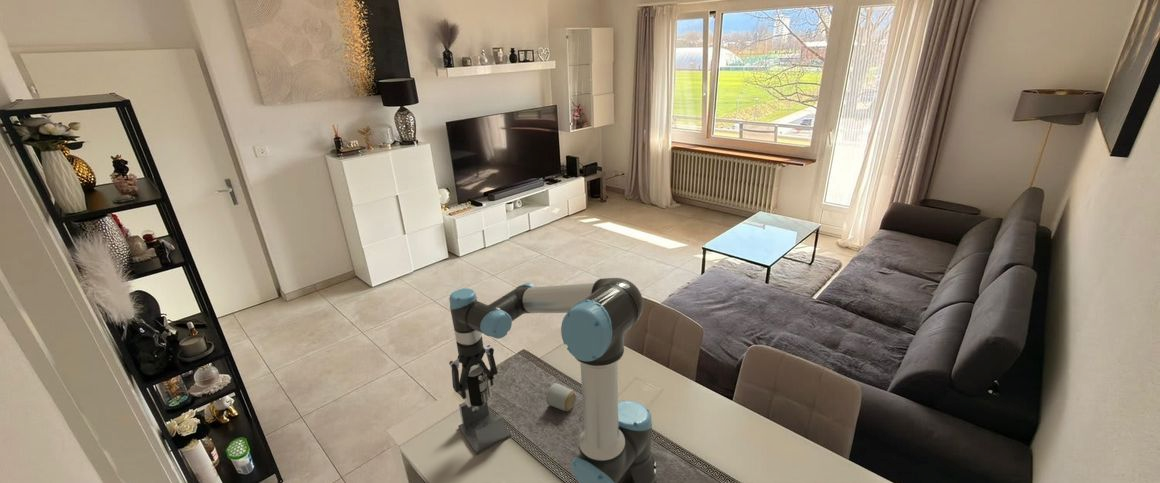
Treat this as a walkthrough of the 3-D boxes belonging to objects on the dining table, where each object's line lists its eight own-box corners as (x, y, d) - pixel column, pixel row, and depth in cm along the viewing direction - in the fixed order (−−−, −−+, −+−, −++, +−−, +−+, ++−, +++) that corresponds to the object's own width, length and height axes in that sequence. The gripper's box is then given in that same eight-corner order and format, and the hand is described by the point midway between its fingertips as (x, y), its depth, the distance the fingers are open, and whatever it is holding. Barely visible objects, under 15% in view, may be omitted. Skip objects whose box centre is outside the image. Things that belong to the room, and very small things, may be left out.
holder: (510, 436, 154) (508, 414, 150) (476, 454, 147) (472, 432, 144) (491, 411, 164) (488, 390, 160) (458, 428, 158) (454, 406, 154)
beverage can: (466, 397, 152) (460, 366, 147) (486, 390, 154) (481, 360, 150) (471, 410, 147) (465, 379, 142) (491, 403, 149) (487, 372, 144)
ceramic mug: (567, 416, 160) (565, 398, 157) (546, 409, 164) (545, 391, 161) (582, 397, 169) (581, 379, 166) (562, 390, 172) (561, 373, 170)
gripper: (493, 321, 149) (501, 380, 158) (432, 345, 139) (444, 406, 148) (504, 331, 143) (511, 392, 153) (442, 357, 133) (454, 420, 142)
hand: (478, 399), depth 150 cm, fingers closed on beverage can, 7 cm apart
